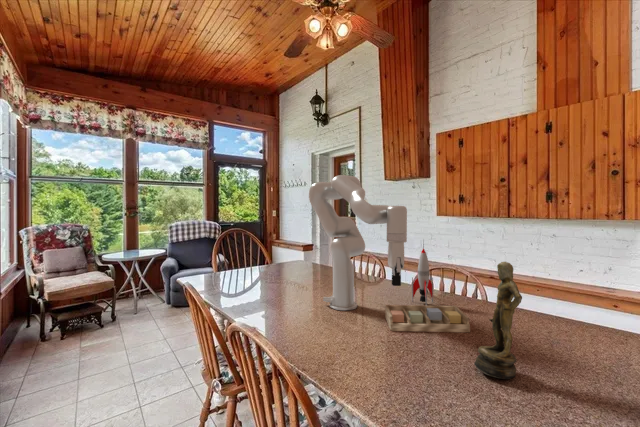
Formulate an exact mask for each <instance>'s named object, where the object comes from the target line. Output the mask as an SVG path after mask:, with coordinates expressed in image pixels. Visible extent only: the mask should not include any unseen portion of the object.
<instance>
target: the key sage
mask: <svg viewBox="0 0 640 427" xmlns="http://www.w3.org/2000/svg"><path fill="white" fill-rule="evenodd" d="M408 316H409V318H410V319H411V323H423V314H422V313H421V312H420V311H408Z"/></svg>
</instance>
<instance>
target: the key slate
mask: <svg viewBox="0 0 640 427" xmlns="http://www.w3.org/2000/svg"><path fill="white" fill-rule="evenodd" d="M427 316H428V318H429V319H430V320H442V312H441V311H440V310H439V309H438V308H427Z"/></svg>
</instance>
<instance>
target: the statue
mask: <svg viewBox="0 0 640 427" xmlns="http://www.w3.org/2000/svg"><path fill="white" fill-rule="evenodd" d="M496 267H497V275H498V279H499V280H500V282H499V283H498V285H497V295H496V303H495V304H496V306H495V309H494V311H493V316H492V318H488V320H489V321H490V322H491V323H492V326H491V327H492V334H493V337H494V340H495V344H494V345H492V346H491V345H490V346H489V345H481V346H479V347H478V349H477V352H478V353H479V354H478V355H477V356H476V359H475V361H474V366H475V368H477V369H478V370H479V371H481V372H482V373H483V374H485V375H487V376H489V377H493V378H497V379H502V380H510V379H513V378H515V377H516V374H517V367H516V365H515V364H516V363H517V357H516V356H515V354H513V353H511V349H512V345H513V335H512V333H511V332H512V331H511V330H512V326H513V315H514V314H515V310H516V308H518V307H519V305H520V304H521V303H522V299H523V296H522V294H521V293H520V291H519V287H518V285H517V283H516V282H515V281H514V266H513V265H512V264H511V263H510V262H507V261H501V262H500V263H498V264H497V266H496Z"/></svg>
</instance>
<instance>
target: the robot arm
mask: <svg viewBox="0 0 640 427" xmlns="http://www.w3.org/2000/svg"><path fill="white" fill-rule="evenodd" d="M308 198H309V203H310V205H311V207H312V209H313V210H314V212H315V213H316V215H317V217H318V220H319V222H320V224H321V225H322V228H323V229H324V230H323V231H324V232H325V234H326V235H327V237H329V238H334V239H333V240H332V241H331V243H330V245H329V246H330V248H329V249H330V250H329V251H330V254H331V260H332V294H331V295H330V296H322V299H323V302H325V303H329V307H330V308H332V309H333V310H337V311H352V310H355V309H357V307H358V303H357V302H356V301H355V278H354V277H355V276H354V275H355V272H354V271H355V268H354V264H353V262H352V259H351V257H358V256H361V255H362V254H363V253H364V252H365V251H366V243H365V240H364V237H363V236H362V234H361V232H360V230H359V228H358V226H357V224H356V223H355V221H354V220H353V219H352V218H351V217H349V216H339V215H338V214H337V212H336V209H335V208H334V207H333V206H332V204H331V203H330V202H328V200H330V201H331V200H333V201H336V200H341V199H343V200H345V201H346V202H347V203H349V204H350V208H351V211H352V213H353V214H354V215H355V216H356V217H357V218H358V219H360V220H361V221H362V222H364V223H366V224H368V225H383V224H385V225H386V242H387V243H388V246H387V249H388V250H387V265H388V267H389V268H390V269H391V286H393V287H401V285H402V270H403V269H404V268H405V243H408V242H407V238H408V236H407V235H408V222H407V221H408V210H407V207H406V206H405V205H387V204H371V203H369V202H368V201H367V200H365V198H366V191H365V189H364V188H363V187H362V186H361V181H360V179H359V178H358V177H356V176H354V175H347V174H346V175H344V174H340V175H339V174H338V175H336V176H334V177H333V178H332V179H331V181H329V182H328V181H318V182H315V183H312V184H311V186H309V190H308Z"/></svg>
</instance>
